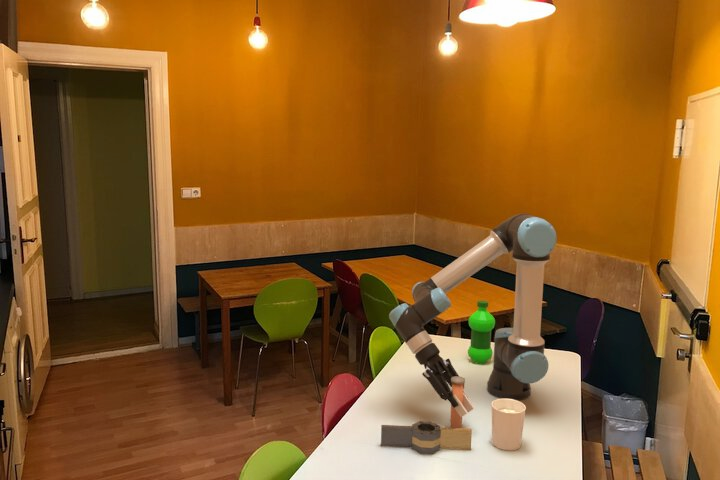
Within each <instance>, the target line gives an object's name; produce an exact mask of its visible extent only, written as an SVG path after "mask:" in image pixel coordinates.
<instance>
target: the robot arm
mask: <svg viewBox="0 0 720 480" xmlns="http://www.w3.org/2000/svg"><path fill="white" fill-rule="evenodd" d="M556 245H557V233H556V230H555V227H554V226H553V225H552V224H551V223H550V222H548V221H547V220H546V219H544V218H541V217H537V216H534V215H531V214H529V213H518V214H515V215H513V216H511V217H509V218H507V219H506V220H504V221H503V222H501V223H500V224H499V225H497V226H496V227H494V228H493V229H492V230H490V232H489V235H488V236H487V237H486V238H483V240H482V241H480V242H478V243H477V244H476V245H475V246H473V247H472V248H471V249H469V250H468V251H466V252H465V253H463V254H462V255H461V256H459V257H458V258H456V259H455V260H453V261H452V262H451V263H449V264H447V266H445V267H444V268H442V269H441V270H440V271H438V272H437V273H436V274H433V275H432V276H431V277H429V278H428V279H426V280H425V281H419V282H417V283H415V284H414V285H413V287H412V289H411V295H412V298H413V302H414V303H413V304H412V305H409V304H408V303H406V302H405V303H401V304H399V305H397V306H396V307H395V308H394V309H392V310H391V311H390V312H389V315H388V319H389V320H390V321H391V323H392V325H393V326H394V328H395V330H396V331H397V333H398V334H399V335H400V337H401V339H402V340H403V341H404V343H405V344H406V345H407V347H408V349H409V350H410V351H411V353H412V354H413V355H414V354H415V355H414V358H415V359H416V361H417V362H418V364H419V365H421V366H424V369H425V370H424V371H423V372H422V373H421V374H422V376H423V377H424V378H425V379H426V380H427V381H428V382H429V384H430V385H431V387H432V388H433V390H434V391H435V392H436V393H437V395H438V396H439V397H440V399H441V400H444V401H447V400H448V402H449V403H450V406H451V405H452V406H453V407H454V408H455V410H456V411H457V413H458V414H459V416H460V417H462V418H463V417H464V416H465V415H467V414H468V413H470V412H471V411H473V410H474V409H475V406H474V405H473V403H472V402H471V401H470V399H469V398H468V396H467V395H466V393H465V391H464V390H465V384H464V385H463V405H462V403H461V402H460V400H459V399H458V397H457V396H456V395H453V393H452V389H451V388H452V383H451V378H452V377H454V376H459V374H458V372H457V371H456V369H455V368H454V366H453V364H452V362H451V359H450V358H446V359H443V357H442V356H440V352H441V351H440V348H438V347H437V345H436V343H434V342H433V339H432V337H431V336H430V334H429V333H428V332H427V330H426V329H425V328H424V326H425V325H427V324H428V323H429V322H431V321H432V320H434V319H435V318H436V317H438V316H439V315H441V314H442V313H445V311H446V310H448V309H449V308H450V307H451V305H452V302H451V300H450V299H449V297H448V296H447V293H449V292H450V291H451V290H453V289H455V288H456V287H457V286H459V285H461V284H462V283H464V281H466V280H467V279H469V278H470V277H471V276H473V275H474V274H476V273H477V272H479V271H480V270H481V269H483V268H485V267H486V266H487V265H489V264H490V263H491V262H493V261H495V260H496V259H497V258H498V257H500V256H502V255H503V254H506V255H508V254H510V253H511V252H512V253H511V254H512V257H511V258H512V259H513V260H514V262H515V263H516V273H515V291H514V292H515V293H514V309H513V327H503V328H502V327H500V328H498V329H496V331H495V332H494V333H495V334H494V338H493V339H494V343H493V344H494V345H493V348H494V349H493V363H492V364H493V365H492V367H493V368H492V371H491V373H490V376H489V377H488V381H487V383H486V384H487V386H486V391H487V392H488V393H489V394H491V395H492V396H494V397H496V398H498V399H503V398H505V399H513V400H517V401H519V400H525V399H527V398H529V397H530V396H531V393H532V392H531V389H532V388H531V385H530V384H534V383H537V382H539V381H540V380H542V379H543V378H544V377H545V376H546V375H547V373H548V371H549V360H548V358H547V356H546V355H545V341H546V340H545V339H544V338H543V337H542V336H541V329H542V328H541V326H542V325H541V324H542V310H543V308H542V307H543V295H544V294H543V293H544V280H545V279H544V275H545V265H546V264H547V263H548V262H549V261H550V258H551V252H552V251H553V250H554V249H555V247H556Z"/></svg>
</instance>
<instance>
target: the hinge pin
mask: <svg viewBox="0 0 720 480" xmlns="http://www.w3.org/2000/svg"><path fill="white" fill-rule="evenodd" d="M465 381H466V379H465V377H463V376H454V377H452V378H451V383H452V387H451V391H452V393H453V395H456V396H457V397H458V399H459V400H460V402H461V403H462V405H463V391H464V389H463V385H464V386H465V384H466V383H465ZM449 421H450V422H449V423H450V426H449V428H463V427H462V426H463V417H460V416H459V414H458V413H457V411H456V410H455V408H454V407H453V406H452V405H451V404H450V420H449Z"/></svg>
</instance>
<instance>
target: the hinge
mask: <svg viewBox="0 0 720 480" xmlns="http://www.w3.org/2000/svg"><path fill="white" fill-rule="evenodd" d="M380 427H381V430H380V431H381V432H380V435H381V437H380V447H393V448H395V447H397V448H411V450H413V451H414V452H417V453H418V454H419V455H434V454H435V453H438V452H440V451H441V449H444V450H461V451H462V450H464V451H466V450H468V451H471V450H472V435H473V434H472V433H473V429H472V428H467V427H462V428H450V427H444V426H443V427H441V425H440V424H437V423H435V422H433V421H430V420H429V421H426V420H424V421H423V420H419V421H417V422H414V423H412V424H411V425H398V424H397V425H395V424H394V425H393V424H381V426H380Z"/></svg>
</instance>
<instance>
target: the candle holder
mask: <svg viewBox="0 0 720 480" xmlns="http://www.w3.org/2000/svg"><path fill="white" fill-rule="evenodd" d="M490 404H491V443H492V445H493V446H494V447H496V448H497V449H499V450H503V451H516V450H518V449H520V448H521V446H522V441H523V440H522V439H523V434H524V433H523V432H524V423H525V419H526V418H525V416H526V410H527V407H526V404H524V403H523V402H522V401H519V400H513V399H505V398H497V399H494V400H493V401H492V402H491V403H490Z"/></svg>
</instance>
